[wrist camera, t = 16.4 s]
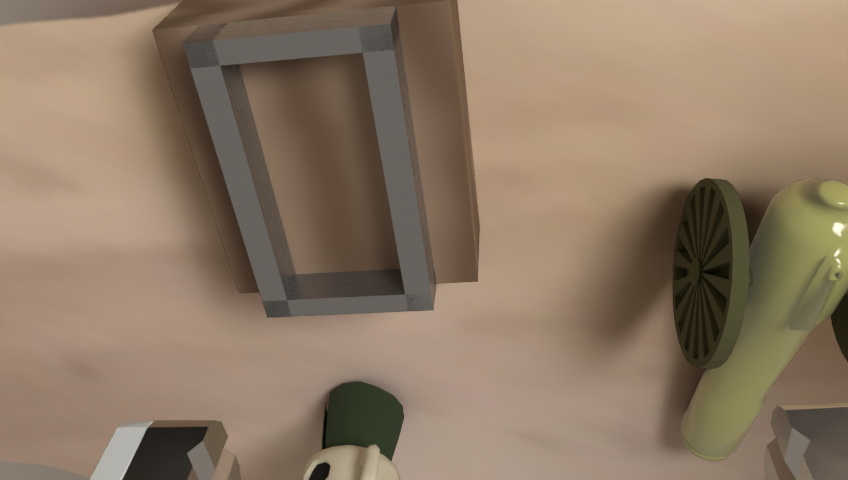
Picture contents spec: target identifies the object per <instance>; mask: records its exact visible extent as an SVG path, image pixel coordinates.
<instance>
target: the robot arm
mask: <svg viewBox="0 0 848 480" xmlns="http://www.w3.org/2000/svg"><path fill="white" fill-rule="evenodd" d="M771 425H772V428H773V431H774V433H775V436H776V438H775V439H774V440H773V441H772V442H770V443H769V444H768V445H767V448H766V455H765V478H766V480H848V402H843V403H816V404H789V405H777V407H776V408H775V410H774V411H773V416H772V421H771ZM227 437H228V436H227V433H226V431H225V429H224V427H223V424H222V422H220V421H215V420H155V421H125V422H123V423H122V424H121V425H120V426H119V427H117V429H116V430H115V432H114V434H113V436H112V438H111V440H110V441H109V443H108V445H107V447H106V449H105V451H104V453H103V455H102V456H101V458H100V460H99V462H98V464H97V466H96V468H95V470H94V472H93V473H92V475H91V477H90V479H89V480H241V475H240V468H239V464H238V462H237V459H236V456H235V455H234V454H232V453H231V452H229V451H228V450H227V449H225V448H224V446H225V443H226V440H227Z"/></svg>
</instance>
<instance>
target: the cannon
mask: <svg viewBox="0 0 848 480" xmlns="http://www.w3.org/2000/svg"><path fill="white" fill-rule="evenodd" d="M673 308H674V318H675V325H676V331H677V335H678V340H679V343H680V346H681V349H682V352H683V354H684V356H685V357H686V359H687V361H688V362H689V363H690V364H691V365H692V366H694V367H697V368H706V370H705V372H704V374H703V376H702V378H701V380H700V382H699V384H698V386H697V388H696V391H695V393H694V395H693V397H692V399H691V401H690V403H689V405H688V408H687V410H686V412H685V414H684V416H683V418H682V422H681V437H682V440H683V442H684V444H685V445H686V447H687V448H688V449H689V450H690V451H691V452H692V453H693V454H695V455H696V456H698V457H700V458H702V459H705V460H710V461H719V460H723V459H725V458H727V457H728V456H730V455H731V454H732V453H734V452H735V451H736V450H737V448H738V447H739V445H740V444H741V442H742V440H743V439H744V437H745V435H746V433H747V432H748V430H749V428H750V427H751V425H752V423H753V422H754V420H755V418H756V417H757V415H758V413H759V412H760V410H761V408H762V407H763V405H764V403H765V399H766V392H767V391H768V390H769V388H770V387H771V386H772V384H773V383H774V382H775V380H776V379H777V378H778V376H779V375H780V374H781V372H782V371H783V370H784V368H785V367H786V366H787V364H788V363H789V362H790V360H791V359H792V358H793V356H794V355H795V353H796V352H797V351H798V349H799V348H800V347H801V345H802V344H803V343H804V341H805V340H806V339H807V337H808V336H809V335H810V333H811V332H812V331H813V329H814V328H815V327H816V325H817V324H819V323H821V322H822V321H824V320H825V319H827V318H828V317H829V316H831V320H832V326H833V329H834V333H835V336H836V340H837V342H838V344H839V347H840V349H841V351H842V354H843V355H844V357H845V358H846V360H847V362H848V184H846V183H843V182H840V181H838V180H834V179H829V178H811V179H804V180H798V181H795V182H792V183H790V184H789V185H787V186H785V187H784V188H783V189H781V190H780V191H778V192H777V193H776V194H775V195H774V196H773V197H772V199H771V201H770V203H769V206H768V208H767V210H766V212H765V214H764V217H763V219H762V221H761V223H760V225H759V228H758V230H757V232H756V234H755V236H754V239H753V241H752V243H751V245H750V248H749V238H748V230H747V222H746V218H745V213H744V209H743V205H742V203H741V200H740V197H739V195H738V193H737V191H736V190H735V188H734V186H733V185H732V184H731V183H729V182H728V181H727V180H722V179H710V178H705V179H703V180H701V181H699V182H698V183H697V184H696V185H695V186H694V188H693V190H692V191H691V193H690V195H689V197H688V199H687V202H686V204H685V207H684V210H683V214H682V218H681V222H680V225H679V229H678V233H677V239H676V246H675V254H674V264H673Z"/></svg>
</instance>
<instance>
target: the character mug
mask: <svg viewBox="0 0 848 480" xmlns="http://www.w3.org/2000/svg"><path fill="white" fill-rule="evenodd" d="M326 403H327V402H326ZM403 419H404V414H403V406H402V405H401V404H400V403H399V401H398V400H397V399H396V398H395V397H394V396H393V395H391V394H390V393H388V392H386V391H384V390H382V389H380V388H379V387H376V386H373V385H369V384H366V383H363V382H355V383H348V384H343V385H341V386H340V387H338V388H336V389H335V390H333V391H332V392H331V394H330V399H329V406H328V413H327V408H326V404H325V411H324V420H323V434H322V450H320V451H318V452H316V453H315V454H313V455H311V457H310V458H309V459H308V461H307V463H306V465H305V468H304V471H303V474H302V478H301V480H400V477H399V474H398V471H397V468H396V466H395V465H394V464H393V463H392V462H391V460H392V457H393V454H394V451H395V448H396V445H397V442H398V438H399V435H400V431H401V427H402V423H403Z"/></svg>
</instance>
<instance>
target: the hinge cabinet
mask: <svg viewBox="0 0 848 480" xmlns="http://www.w3.org/2000/svg"><path fill="white" fill-rule="evenodd" d="M152 31H153V34H154V37H155V40H156V43H157V46H158V49H159V52H160V55H161V58H162V61H163V64H164V67H165V70H166V73H167V76H168V80H169V83H170V86H171V89H172V92H173V95H174V98H175V101H176V104H177V107H178V110H179V113H180V116H181V119H182V122H183V125H184V128H185V131H186V134H187V137H188V140H189V143H190V146H191V149H192V152H193V156H194V159H195V162H196V165H197V168H198V171H199V174H200V177H201V180H202V183H203V186H204V189H205V192H206V195H207V198H208V201H209V204H210V207H211V210H212V213H213V216H214V219H215V222H216V225H217V229H218V232H219V235H220V238H221V241H222V244H223V247H224V250H225V253H226V256H227V259H228V262H229V265H230V268H231V271H232V274H233V277H234V280H235V283H236V286H237V289H238V292H239V293H255V292H260V295H261V298H262V302H263V305H264V308H265V311H266V315H267V318H269V317H291V316H314V315H336V314H358V313H381V312H403V311H425V310H434V302H435V292H436V284H437V283H457V282H478V259H479V232H480V224H479V214H478V204H477V194H476V184H475V174H474V164H473V154H472V144H471V134H470V124H469V114H468V104H467V94H466V84H465V74H464V64H463V54H462V44H461V34H460V24H459V14H458V4H457V0H183V1H182V2H181V3H180V4H179V5H178V6H177V7H176V8H175V9H174V10H173V11H172V12H171V13H170V14H169V15H167V16H166V17H165V18H164V19H163V20H162V21H161V22H160V23H159V24H158V25H157V26H156V27H155V28H154V29H153V30H152Z"/></svg>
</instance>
